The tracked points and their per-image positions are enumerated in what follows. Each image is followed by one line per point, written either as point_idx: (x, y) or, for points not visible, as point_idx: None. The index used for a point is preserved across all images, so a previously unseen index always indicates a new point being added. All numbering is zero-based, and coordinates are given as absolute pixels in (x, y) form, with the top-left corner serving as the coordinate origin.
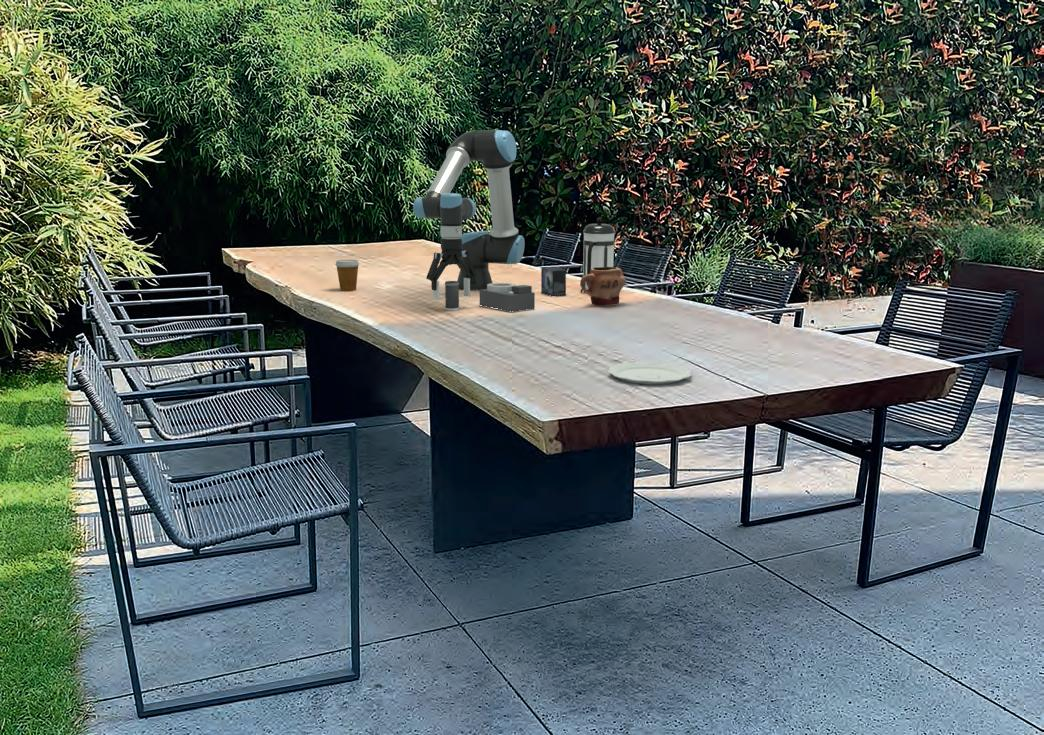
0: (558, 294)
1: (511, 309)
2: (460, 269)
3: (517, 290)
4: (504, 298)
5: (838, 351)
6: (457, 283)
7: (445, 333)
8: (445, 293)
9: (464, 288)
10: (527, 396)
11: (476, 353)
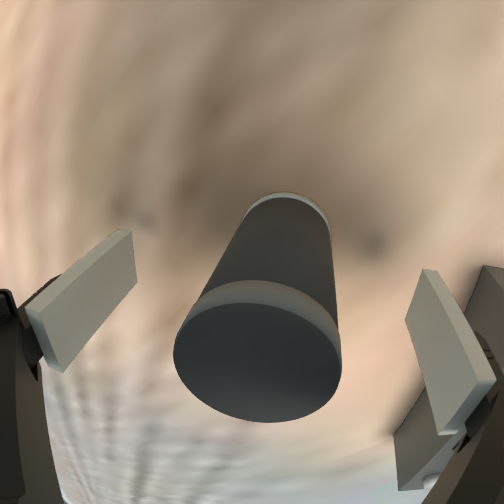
0: None
1: (395, 444)
2: (450, 492)
3: None
4: (416, 456)
5: None
6: (272, 414)
7: (61, 427)
8: (215, 268)
9: (438, 314)
10: (72, 500)
11: (72, 475)
